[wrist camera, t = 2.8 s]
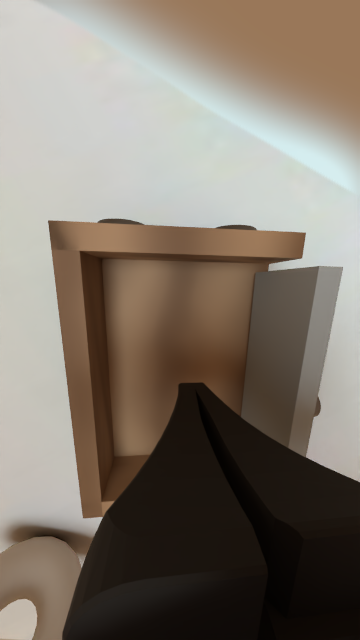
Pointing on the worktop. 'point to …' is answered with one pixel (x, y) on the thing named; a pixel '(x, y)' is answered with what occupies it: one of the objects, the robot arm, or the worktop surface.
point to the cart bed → (150, 331)
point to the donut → (41, 581)
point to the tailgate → (288, 351)
